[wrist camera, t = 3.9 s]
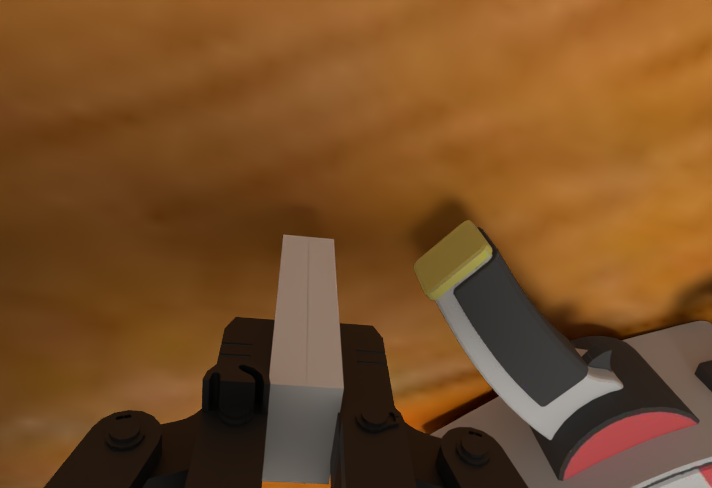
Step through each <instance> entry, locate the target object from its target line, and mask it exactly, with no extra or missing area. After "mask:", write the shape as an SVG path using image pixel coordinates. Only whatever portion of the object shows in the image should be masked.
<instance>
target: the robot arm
mask: <svg viewBox="0 0 712 488" xmlns="http://www.w3.org/2000/svg"><path fill="white" fill-rule="evenodd" d="M330 475H331V488H529V487H528V486H527V484H526V483H525V481H524V480H523V478H522V477H521V475H520V474H519V472H518V471H517V469H516V468H515V466H514V465H513V463H512V462H511V460H510V459H509V457H508V456H507V454H506V453H505V451H504V450H503V448H502V447H501V445H500V444H499V443H498V442H497V441H496V440H495V439H494V438H493V437H492V436H490V435H488V434H487V433H485V432H483V431H481V430H478V429H475V428H472V427H457V428H454V429H451V430H448V431H447V432H446V433H445V434H444V435H443V437H442V438H439V437H436V436H432V435H429V434H426V433H423V432H421V431H418V430H416V429H414V428H412V427H411V426H409V425H408V424H406V423H405V422H404V420H403V417H402V415H401V413H400V412H399V411H398V410H397V409H396V408H395V406H394V401H393V395H392V389H391V383H390V378H389V372H388V366H387V360H386V355H385V348H384V343H383V338H382V337H381V335H380V334H379V333H378V332H377V330H376V329H375V328H374V327H373V326H369V325H355V324H342V323H339V309H338V294H337V279H336V264H335V249H334V239H328V238H316V237H305V236H294V235H283V243H282V253H281V263H280V273H279V283H278V293H277V303H276V313H275V320H269V319H255V318H241V317H235V319H234V320H233V321H232V322H231V323H230V324H229V325H228V326H227V327H226V328H225V330H224V335H223V339H222V345H221V348H220V352H219V357H218V361H217V365H215V366H214V367H212V368H211V369H210V370H208V371H207V373H206V374H205V376H204V378H203V388H202V409H201V410H200V411H198V412H197V413H196V414H194V415H192V416H190V417H188V418H186V419H183V420H179V421H176V422H171V423H166V424H160V423H159V422H158V421H157V420H156V419H155V418H154V416H152V415H150V414H147V413H145V412H143V411H132V410H128V411H122V412H117V413H113V414H111V415H109V416H107V417H105V418H103V419H101V420H100V421H99V422H98V423H97V424H96V425H94V426H93V427H92V428H91V430H90V431H89V432H88V433H87V435H86V436H85V437H84V438H83V440H82V441H81V442H80V443H79V445H78V446H77V447H76V448H75V450H74V451H73V452H72V453H71V455H70V456H69V457H68V458H67V459H66V461H65V462H64V463H63V464H62V466H61V467H60V468H59V469H58V471H57V472H56V473H55V474H54V476H53V477H52V478H51V479H50V481H49V482H48V483H47V484H46V486H45V487H44V488H261V487H262V481H269V482H293V483H317V484H329V478H330Z"/></svg>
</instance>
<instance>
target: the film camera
mask: <svg viewBox="0 0 712 488" xmlns="http://www.w3.org/2000/svg"><path fill="white" fill-rule="evenodd" d="M414 271H415V273H416V276H417V278H418V280H419V283H420V285H421V287H422V290H423V292H424V293H425V294H426V295H427V296H428V297H429V298H430V299H431V300H435V301H436V303H437V305H438V307H439V309H440V310H441V312H442V314H443V316H444V318H445V319H446V321H447V323H448V325H449V327H450V328H451V330H452V332H453V334H454V335H455V337H456V338H457V340H458V341H459V343H460V345H461V346H462V348H463V349H464V351H465V352H466V354H467V355H468V357H469V358H470V360H471V361H472V363H473V364H474V365H475V367H476V368H477V369H478V371H479V372H480V373H481V375H482V376H483V377H484V379H485V380H486V381H487V382H488V383H489V385H490V386H491V387H492V388H493V389H494V391H495V392H496V393H497V394H498V395H499V396H498V397H497V398H495V399H493V400H491V401H489V402H488V403H486V404H484V405H482V406H480V407H479V408H477V409H475V410H473V411H471V412H470V413H468V414H466V415H464V416H462V417H461V418H459V419H457V420H455V421H453V422H451V423H450V424H448V425H446V426H444V427H442V428H441V429H439V430H437V431H435V432H433V433H432V434H430V435H432V436H436V437H439V438H442V437H443V435H444V434H445V433H446V432H447V431H448V430H451V429H454V428H457V427H472V428H475V429H478V430H481V431H483V432H485V433H487V434H488V435H490V436H492V437H493V438H494V439H495V440H496V441H497V442H498V443H499V444H500V445H501V447H502V448H503V450H504V451H505V453H506V454H507V456H508V457H509V459H510V460H511V462H512V463H513V465H514V466H515V468H516V469H517V471H518V472H519V474H520V475H521V477H522V478H523V480H524V481H525V483H526V484H527V486H528V487H529V488H712V323H710V322H707V321H696V322H691V323H687V324H683V325H678V326H674V327H670V328H667V329H663V330H659V331H655V332H651V333H648V334H644V335H640V336H636V337H633V338H629V339H625V340H619V339H616V338H613V337H606V336H587V337H582V338H578V339H574V340H570V341H569V340H568V339H567V338H566V337H565V336H564V335H563V334H562V333H561V332H560V331H558V330H557V329H556V328H555V327H554V326H553V325H552V324H551V323H550V322H549V321H548V320H547V319H546V318H545V317H544V316H543V315H542V313H541V312H540V311H539V310H538V309H537V308H536V307H535V306H534V304H533V303H532V302H531V301H530V300H529V298H528V297H527V296H526V295H525V293H524V292H523V290H522V289H521V287H520V286H519V284H518V283H517V281H516V279H515V278H514V276H513V274H512V273H511V271H510V270H509V268H508V266H507V264H506V263H505V261H504V259H503V258H502V256H501V254H500V252H499V251H498V249H497V248H496V247H495V245H494V244H493V243H492V241H491V240H490V239H489V237H488V236H487V235H486V233H485V232H484V231H483V229H481V228H479V227H476V226H475V225H474V224H473V222H472V221H470V220H467V221H464V222H463V223H461V224H460V225H459V226H458V227H456V228H455V229H454V230H453V231H452V232H450V233H449V234H448V235H447V236H446V237H444V238H443V239H442V240H441V241H440V242H438V243H437V244H436V245H435V246H434V247H432V248H431V249H430V250H429V251H428V252H426V253H425V254H424V255H423V256H421V257H420V258H419V259H418V260H417V261H416V262H415V264H414Z"/></svg>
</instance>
